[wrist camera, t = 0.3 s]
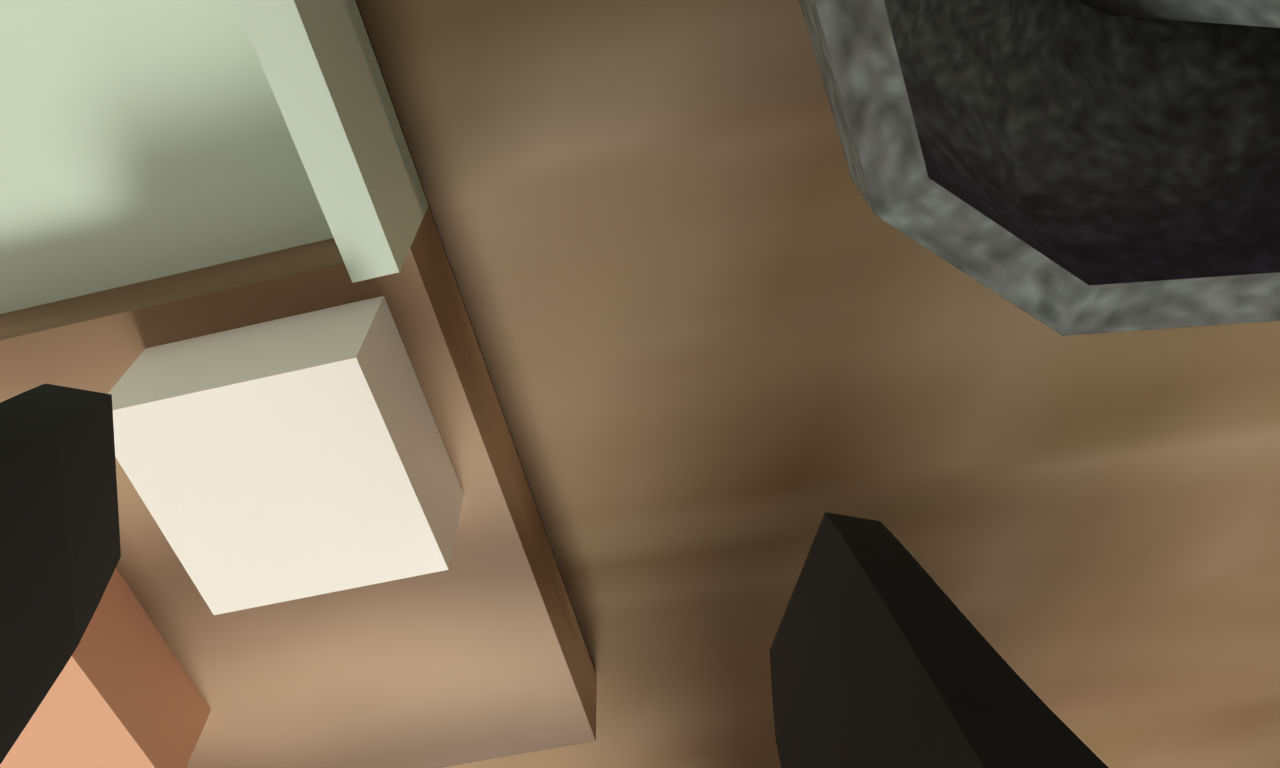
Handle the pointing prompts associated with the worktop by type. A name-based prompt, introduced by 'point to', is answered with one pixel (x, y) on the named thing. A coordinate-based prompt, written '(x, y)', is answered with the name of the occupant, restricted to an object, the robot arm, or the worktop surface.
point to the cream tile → (289, 457)
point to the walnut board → (364, 616)
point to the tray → (192, 142)
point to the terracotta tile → (115, 698)
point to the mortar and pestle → (1071, 148)
